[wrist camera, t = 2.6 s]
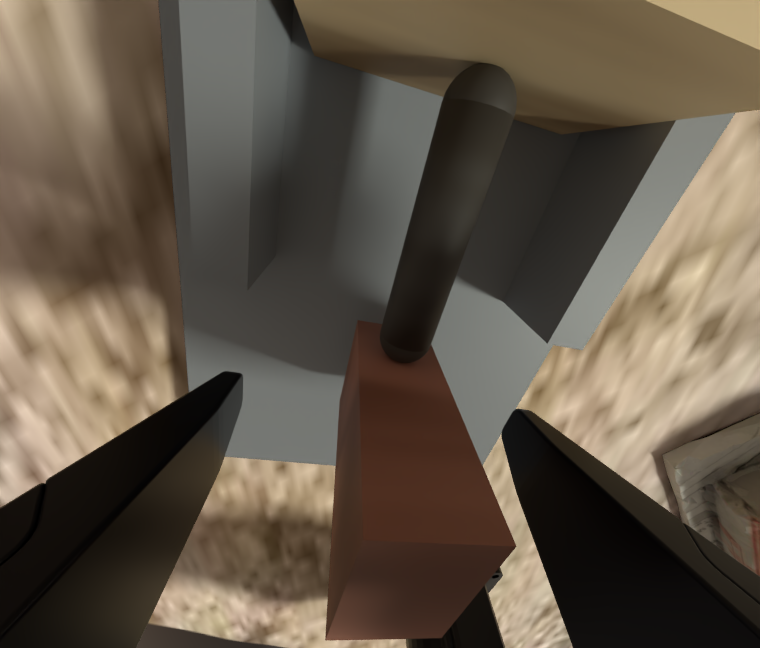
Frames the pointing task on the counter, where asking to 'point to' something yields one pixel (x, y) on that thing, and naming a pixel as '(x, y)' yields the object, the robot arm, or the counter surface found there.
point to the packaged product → (722, 489)
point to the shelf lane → (380, 225)
